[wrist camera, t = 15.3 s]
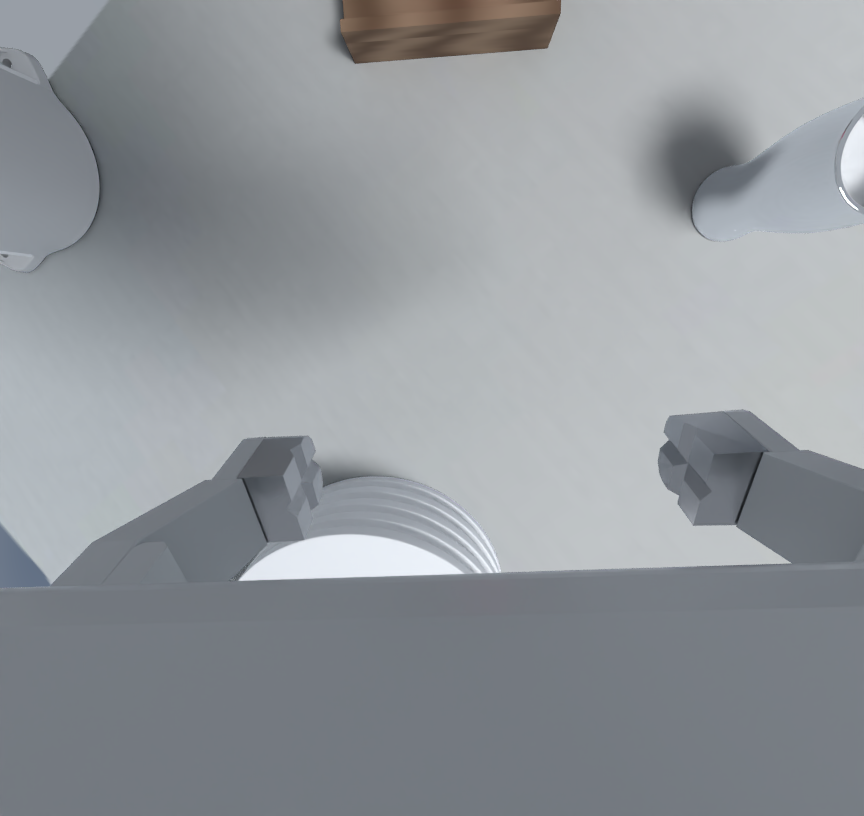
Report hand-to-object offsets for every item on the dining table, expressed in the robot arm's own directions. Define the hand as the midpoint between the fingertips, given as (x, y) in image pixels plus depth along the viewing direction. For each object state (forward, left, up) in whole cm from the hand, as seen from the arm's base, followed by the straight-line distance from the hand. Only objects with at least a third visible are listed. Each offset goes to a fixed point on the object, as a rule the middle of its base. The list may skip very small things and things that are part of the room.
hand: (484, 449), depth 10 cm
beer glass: (+19, +17, -33) cm, 41 cm away
